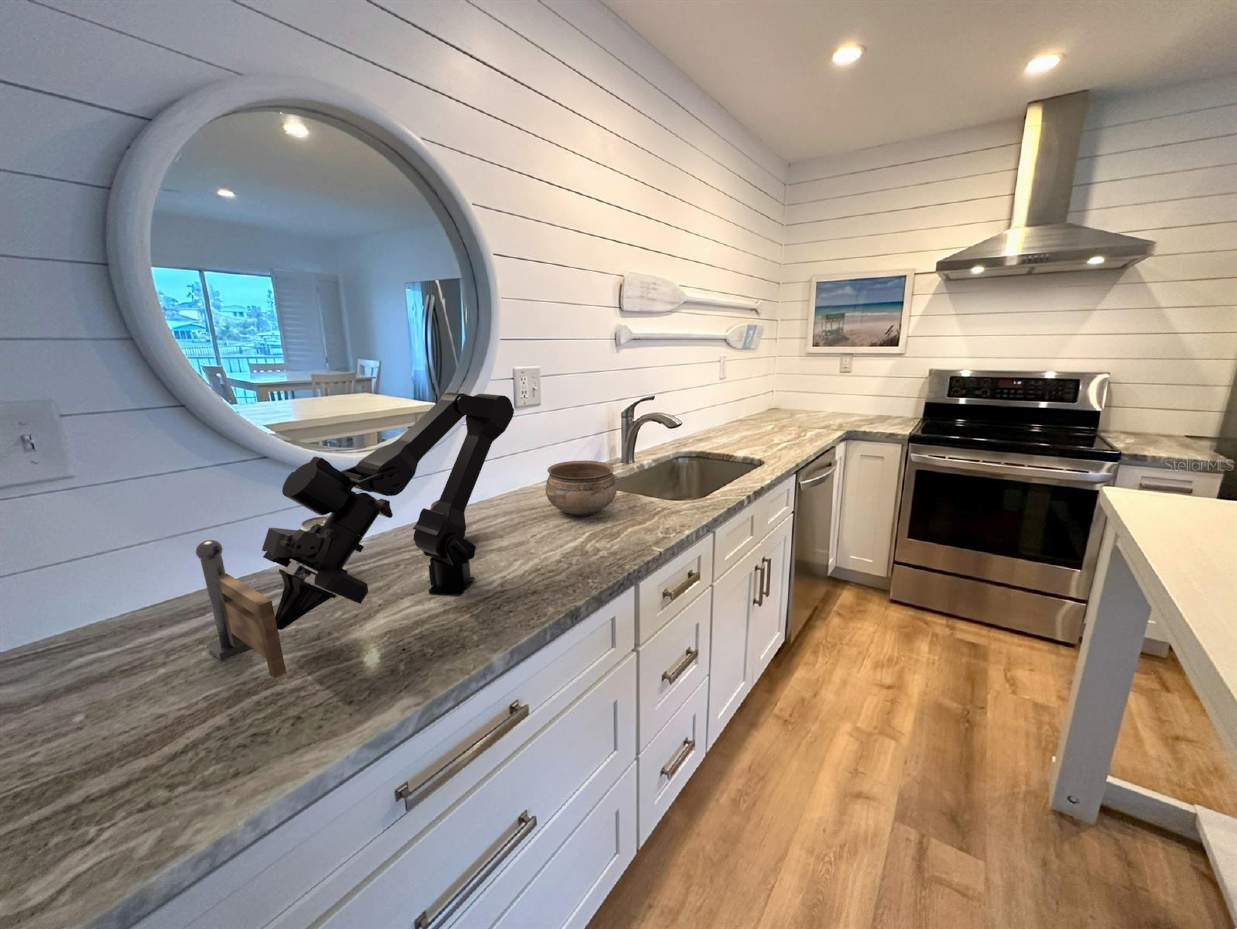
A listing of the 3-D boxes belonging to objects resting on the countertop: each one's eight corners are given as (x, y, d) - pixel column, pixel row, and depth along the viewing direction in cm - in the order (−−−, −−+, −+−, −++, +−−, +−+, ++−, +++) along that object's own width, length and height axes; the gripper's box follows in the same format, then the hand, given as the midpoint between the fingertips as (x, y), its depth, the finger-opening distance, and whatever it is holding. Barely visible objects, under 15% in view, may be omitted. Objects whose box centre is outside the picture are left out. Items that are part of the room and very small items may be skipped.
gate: (230, 644, 73) (214, 577, 71) (241, 639, 75) (226, 573, 72) (275, 678, 66) (259, 605, 63) (286, 672, 67) (271, 600, 64)
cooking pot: (583, 494, 148) (582, 454, 145) (636, 506, 138) (636, 463, 135) (523, 519, 128) (520, 474, 125) (580, 535, 118) (579, 486, 115)
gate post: (208, 651, 75) (182, 542, 71) (242, 636, 79) (219, 532, 74) (221, 661, 73) (194, 549, 68) (254, 645, 76) (231, 539, 72)
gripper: (267, 492, 74) (190, 590, 68) (334, 516, 64) (252, 633, 58) (328, 525, 82) (265, 615, 76) (396, 551, 72) (330, 657, 66)
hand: (276, 628), depth 69 cm, fingers closed
